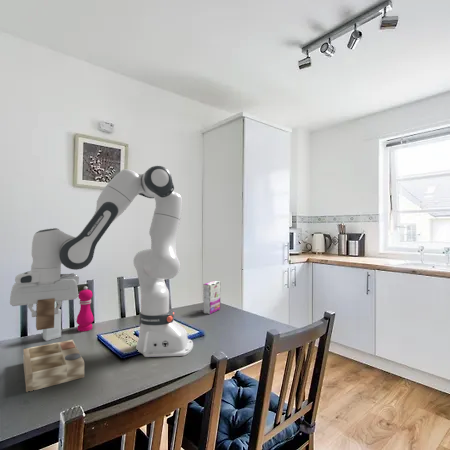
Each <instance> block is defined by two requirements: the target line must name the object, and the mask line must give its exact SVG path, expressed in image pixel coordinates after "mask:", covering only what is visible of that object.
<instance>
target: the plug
mask: <svg viewBox="0 0 450 450" xmlns="http://www.w3.org/2000/svg"><path fill="white" fill-rule="evenodd" d="M55 302H56V301H55V298H53V299H44V300H38V302H37V304H35V305H36V310H37V317H35V328H36V331H43V329H49V328H54V309H55V308H56V307H55V305H56V304H55ZM36 310H35V311H36Z"/></svg>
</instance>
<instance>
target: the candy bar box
mask: <svg viewBox="0 0 450 450" xmlns="http://www.w3.org/2000/svg"><path fill="white" fill-rule="evenodd" d="M202 288H203V290H202V291H203V295H202V297H203V308H202V309H203V314H209V315H212V314H214V313H216V312H219V310H221V281H218V280H217V281H216V280H213V281H209V282H207V283H203V287H202Z"/></svg>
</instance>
